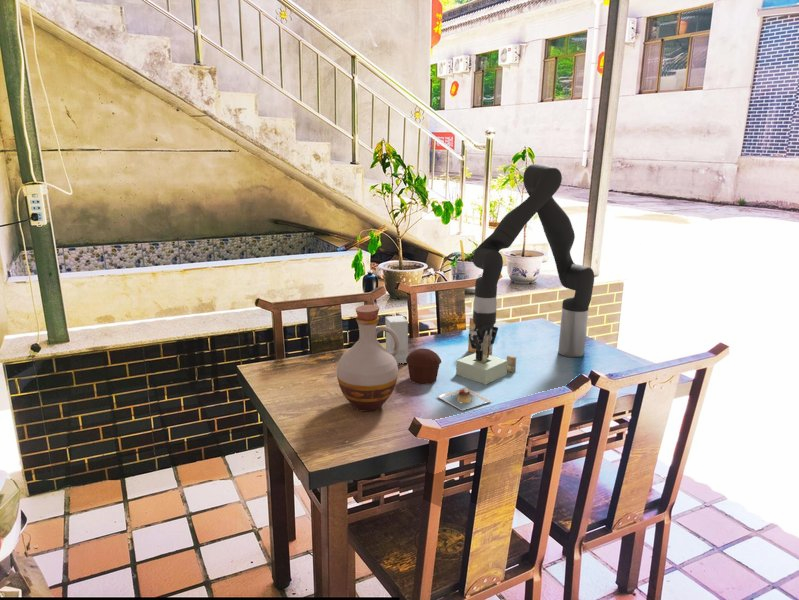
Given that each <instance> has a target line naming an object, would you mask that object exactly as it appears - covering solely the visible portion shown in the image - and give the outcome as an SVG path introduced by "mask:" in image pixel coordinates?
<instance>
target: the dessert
mask: <svg viewBox="0 0 799 600" xmlns="http://www.w3.org/2000/svg"><path fill="white" fill-rule="evenodd" d="M451 395H452V396H455V395H457V397H456V401H457V402H458V403H460V402H462V403H461V404H470V403H472V398H471V395H472V396H473V397H476V398H477V399H479V398H480V399H479V400H480V401H483V402H482V403H478V404H476V405H474V406H469V407H467V408H460V407H458V405H455V404H453V403H451V402H449V401H448V400H446V399H445V398H448V397H452V396H451ZM436 398H438V399H440V400H442V401H444V402H445V403H448V404H450V405H451V406H453V407H455V408H456V409H458V410H460V411H462V412H463V411H466V409H467V410H468V409H469V410H470V409H473V408H476V407H478V406H481V405H485V404H487V403H488V404H489V403H491V402H493V400H492V399H490V398H488V397H486V396H483V395H481V394H480V393H478V392H476V391H474V390H472V389H470V388H468V387H463V388H459V389H456V390H453V391H449V392H445V393H442V394H439V395H437V396H436Z"/></svg>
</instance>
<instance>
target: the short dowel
mask: <svg viewBox="0 0 799 600" xmlns="http://www.w3.org/2000/svg"><path fill="white" fill-rule="evenodd" d="M506 360H507V372H508V373H515V372H516V369H517V356H515V355H509V354H508V355H506Z"/></svg>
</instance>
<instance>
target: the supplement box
mask: <svg viewBox="0 0 799 600" xmlns="http://www.w3.org/2000/svg"><path fill="white" fill-rule="evenodd" d="M468 326H469V327H468V329H469V330H468V335H469V334H472V333H473V332H474V329H475V324H474V323H473V316H470V317H469V325H468ZM493 326H494V327H495V324H494V325H493ZM467 343H468V344H467V345H468V346H467V351H468V352H470V353H472V354H474V353H476V349H473V348H472V347H471V343H470V339H469V338H468V342H467ZM493 345H494V344H491V347H490V348H489V355H491V356H492V355H493Z"/></svg>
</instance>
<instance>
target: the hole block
mask: <svg viewBox="0 0 799 600" xmlns="http://www.w3.org/2000/svg"><path fill="white" fill-rule="evenodd" d="M455 367H456V370H455V374H456V376H460V377H463V378H465V379H468V380H471V381H475V382H478V383H480V384H483V385H488V384H490V383H491V382H493V381H495V380H498V379H500V378H502V377H504V376H506V375H507V359H503V358H499V357H497V356H494V355H492V354H491V355H489V358H487V363H485V364H482V363H479V362H477V360H476V353H472V354H469V355H467V356H465V357H464V356H463V357H462V358H459V359H457V360H456V366H455Z"/></svg>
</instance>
